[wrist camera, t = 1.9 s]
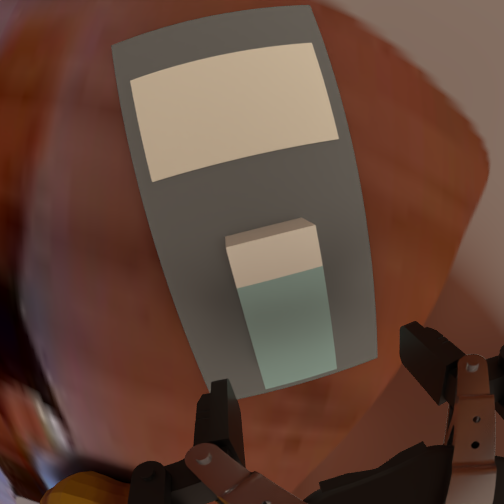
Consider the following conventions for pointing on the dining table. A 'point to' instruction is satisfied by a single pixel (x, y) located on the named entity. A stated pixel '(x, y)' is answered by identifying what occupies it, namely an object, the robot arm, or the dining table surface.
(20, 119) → the dining table surface
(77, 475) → the decorative pumpkin
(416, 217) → the dining table surface
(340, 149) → the mat
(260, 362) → the two-tone rectangular block
